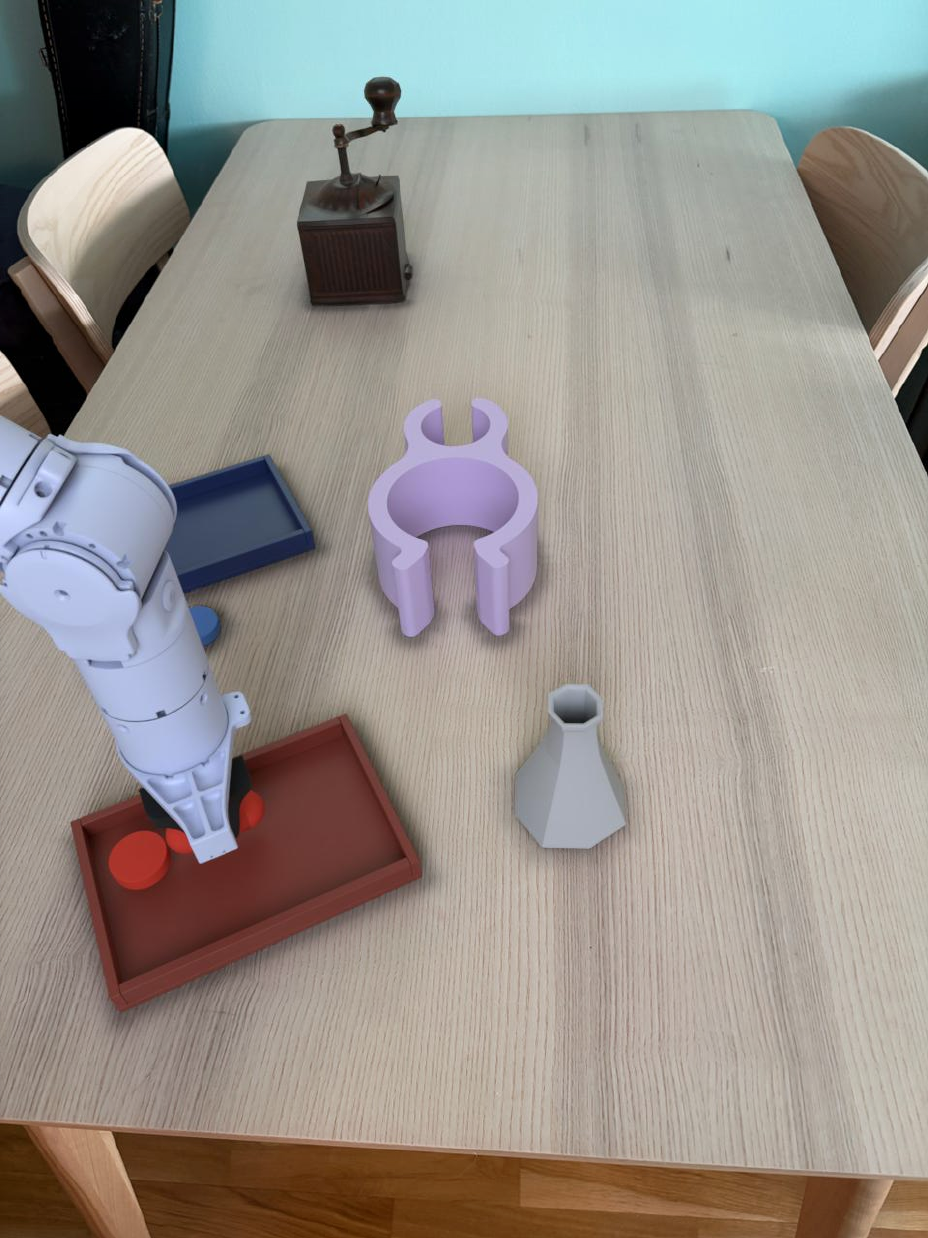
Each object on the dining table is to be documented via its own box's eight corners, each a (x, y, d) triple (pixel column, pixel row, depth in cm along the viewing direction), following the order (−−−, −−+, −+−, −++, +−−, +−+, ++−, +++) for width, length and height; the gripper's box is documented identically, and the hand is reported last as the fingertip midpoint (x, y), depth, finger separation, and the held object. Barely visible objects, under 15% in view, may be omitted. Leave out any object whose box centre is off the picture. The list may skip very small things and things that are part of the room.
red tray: (120, 1013, 54) (109, 999, 52) (80, 838, 61) (69, 821, 60) (422, 877, 58) (420, 860, 57) (350, 730, 66) (346, 712, 64)
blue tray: (103, 621, 74) (94, 603, 73) (76, 534, 81) (68, 515, 80) (315, 548, 78) (312, 530, 77) (273, 471, 86) (269, 453, 84)
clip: (389, 466, 85) (381, 400, 80) (532, 463, 85) (532, 396, 80) (370, 637, 72) (359, 570, 67) (540, 635, 71) (541, 566, 66)
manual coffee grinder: (411, 302, 104) (395, 126, 91) (309, 307, 104) (278, 132, 91) (415, 235, 115) (401, 68, 102) (322, 239, 115) (296, 74, 102)
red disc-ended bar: (120, 899, 57) (107, 879, 55) (108, 852, 59) (95, 832, 57) (275, 834, 59) (268, 813, 57) (259, 791, 61) (251, 770, 59)
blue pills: (213, 609, 74) (206, 586, 73) (226, 638, 72) (218, 616, 70) (89, 652, 72) (78, 631, 70) (98, 684, 70) (87, 663, 68)
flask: (532, 866, 58) (533, 773, 51) (497, 770, 63) (494, 672, 56) (644, 835, 60) (662, 739, 52) (602, 742, 64) (612, 643, 57)
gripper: (271, 753, 45) (317, 892, 55) (192, 560, 54) (243, 710, 64) (119, 813, 43) (195, 946, 53) (63, 603, 52) (137, 750, 62)
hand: (214, 820), depth 58 cm, fingers closed on red disc-ended bar, 2 cm apart
